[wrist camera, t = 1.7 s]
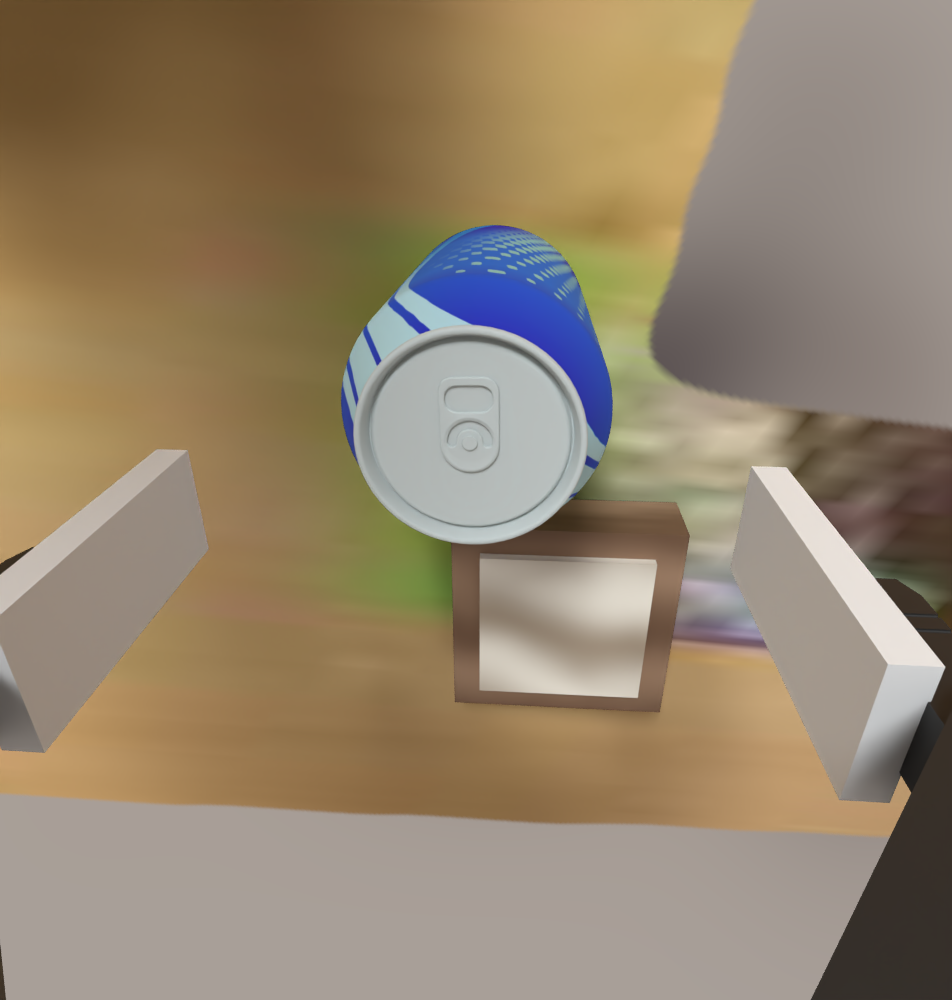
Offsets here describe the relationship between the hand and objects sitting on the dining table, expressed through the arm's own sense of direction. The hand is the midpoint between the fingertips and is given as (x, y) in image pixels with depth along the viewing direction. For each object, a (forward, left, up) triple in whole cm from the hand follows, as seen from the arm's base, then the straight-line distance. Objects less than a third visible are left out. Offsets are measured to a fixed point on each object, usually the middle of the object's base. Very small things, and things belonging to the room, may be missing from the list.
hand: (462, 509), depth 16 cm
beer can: (0, 0, -20) cm, 20 cm away
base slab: (+16, +4, -19) cm, 25 cm away
